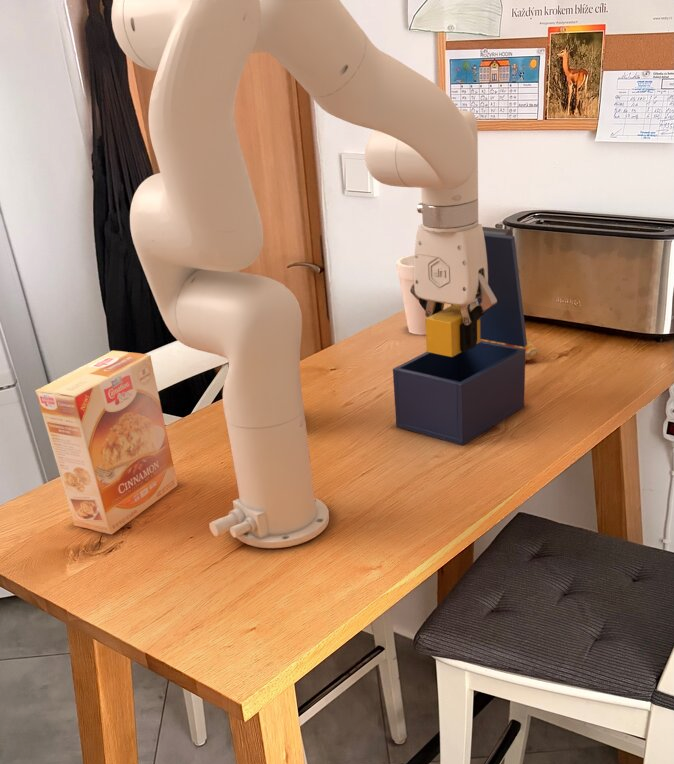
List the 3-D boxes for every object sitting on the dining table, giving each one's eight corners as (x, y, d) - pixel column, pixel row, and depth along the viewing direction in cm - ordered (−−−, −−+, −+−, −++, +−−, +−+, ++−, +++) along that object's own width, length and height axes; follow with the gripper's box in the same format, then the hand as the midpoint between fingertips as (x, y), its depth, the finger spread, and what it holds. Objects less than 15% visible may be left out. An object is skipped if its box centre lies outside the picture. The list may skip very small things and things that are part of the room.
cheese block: (452, 357, 130) (451, 322, 127) (426, 352, 133) (425, 318, 130) (480, 342, 134) (480, 308, 131) (455, 337, 137) (454, 304, 134)
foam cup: (397, 338, 173) (393, 268, 166) (402, 322, 181) (399, 254, 173) (447, 336, 172) (446, 265, 164) (450, 320, 179) (449, 251, 172)
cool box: (462, 445, 132) (461, 384, 127) (396, 426, 140) (392, 368, 135) (524, 407, 142) (525, 348, 136) (458, 391, 149) (457, 335, 144)
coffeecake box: (112, 536, 120) (74, 396, 109) (72, 526, 123) (31, 390, 112) (180, 485, 130) (152, 353, 119) (142, 478, 134) (111, 348, 123)
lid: (511, 238, 124) (532, 220, 127) (437, 230, 132) (459, 213, 134) (524, 347, 136) (543, 328, 138) (456, 334, 143) (475, 316, 146)
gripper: (384, 216, 126) (392, 344, 136) (486, 226, 116) (486, 364, 126) (418, 204, 130) (423, 329, 141) (519, 212, 120) (517, 347, 130)
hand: (453, 344), depth 133 cm, fingers closed on cheese block, 4 cm apart
